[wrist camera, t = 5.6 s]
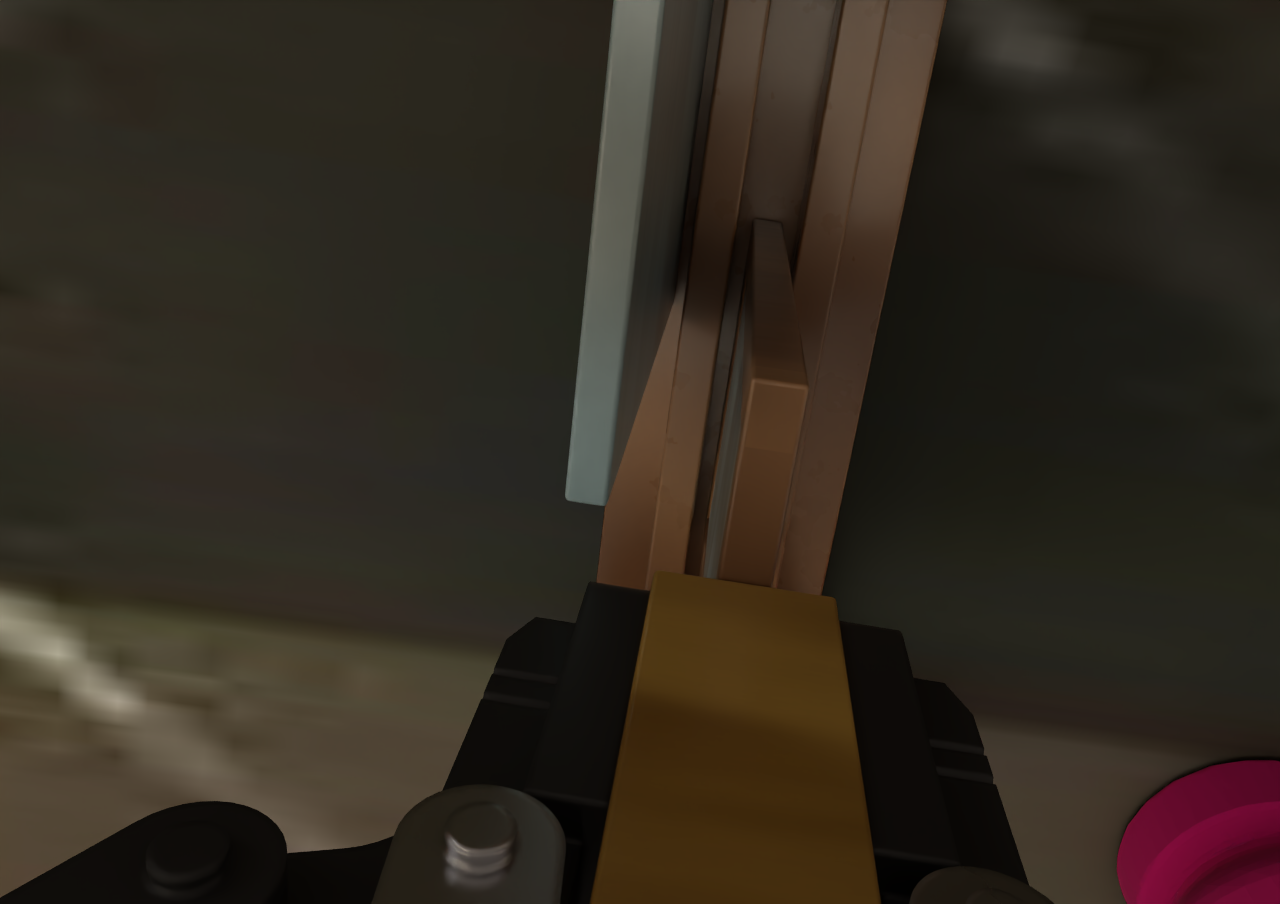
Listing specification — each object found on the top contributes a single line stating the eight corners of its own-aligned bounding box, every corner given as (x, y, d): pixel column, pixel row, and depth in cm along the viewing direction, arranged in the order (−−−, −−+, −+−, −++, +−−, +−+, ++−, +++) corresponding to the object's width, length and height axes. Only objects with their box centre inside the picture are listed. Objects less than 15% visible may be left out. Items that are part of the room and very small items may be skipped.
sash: (761, 539, 23) (773, 1415, 8) (673, 526, 23) (527, 1366, 8) (817, 227, 20) (987, 682, 5) (718, 213, 20) (621, 625, 6)
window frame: (795, 673, 26) (831, 1216, 14) (594, 641, 26) (456, 1145, 14) (961, -129, 19) (1318, -446, 7) (688, -161, 19) (578, -517, 7)
